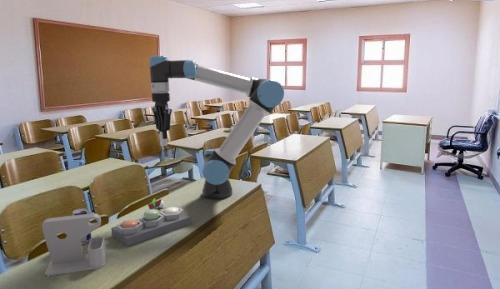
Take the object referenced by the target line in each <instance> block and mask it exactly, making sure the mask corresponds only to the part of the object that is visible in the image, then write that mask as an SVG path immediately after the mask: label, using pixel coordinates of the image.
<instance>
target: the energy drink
mask: <svg viewBox="0 0 500 289" xmlns="http://www.w3.org/2000/svg"><path fill="white" fill-rule="evenodd" d="M83 214H90V213H89V209H88V208H85V207H83V208H82V207H80V208H76V209H74V210H72V213H71V216H74V215H83ZM88 222H89V223H91V222H90V219H89V220H88ZM91 239H92V232H91V233H89V234H88V235H86V236H85V237H83V238H82V239H81V244H82V245H86V244H89V242H90V240H91Z"/></svg>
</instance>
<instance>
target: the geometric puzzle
mask: <svg viewBox="0 0 500 289" xmlns="http://www.w3.org/2000/svg"><path fill="white" fill-rule="evenodd" d="M156 199H157V198H156V197H153V199H152V200H151V201H150V203H147V207H148V208H149V210H152V209H155V210H158V211H159V213H160V212H161V211H162V210H163V209H165V208H167V207H166V203H165V201H163V199H160V198H159V199H158V200H156Z"/></svg>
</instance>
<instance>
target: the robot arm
mask: <svg viewBox="0 0 500 289" xmlns="http://www.w3.org/2000/svg"><path fill="white" fill-rule="evenodd" d="M149 73H150V74H149V75H150V88H151V92H152V93H151V101H152V102H153V103H154V107H152V108H151V110H152V113H153V114H152V115H153V118H154V123H155V129H156V130H157V131H158V132H159V142H160V147H166V146H169V145H168V131H171V118H172V112H173V109H172V108H170V107H169V104H168V102H170V100H171V97H170V95H171V94H170V93H169V91H170V82H169V81H170V79H188V80H191V81H195V82H199V83H202V84H203V83H204V84H207V85H210V86H215V87H218V88H221V89H226V90H228V91H232V92H236V93H241V94H244V95H245V96H246V97H247V98H249V99H248V102H249V105H248V106H247V107H246V109H245V110H244V112H243V113H242V115H241V116H240V118H239V120H238V121H237V122H236V124H235V125H234V126H233V128H232V130H231V131H230V132H229V134H228V135H227V136H226V138H225V140H224V141H223V142H222V144H221V145H220V147H217V148H211V149H205V150H204V152H203V157H204V158H203V159H204V161H203V167H202V175H203V178H204V183H203V187H202V190H201V194H202V197H204V198H206V199H212V200H219V199H220V200H221V199H226V198H229V197H231V196H232V195H233V187H232V184H231V182H230V179H229V177H230V173H231V171H232V170H233V168H234V167H235V165H236V164H237V162H236V158H237V157H238V155H239V154H240V152H241V151H242V150H243V148H244V147H245V145H246V144H247V143H248V141H249V140H250V139H251V137H252V136H253V134H254V132H256V130H257V128H258V126H260V124H261V123H262V121H263V120H264V118H265V117H266V116H268V115H271V114H272V113H273V111H274V110H275V109H276V107H277V106H279V105H280V104H281V103H282V102H283V99H284V97H285V90H284V88H283V85H282V84H281V83H280V82H279V81H278V80H275V79H274V78H273V79H272V78H257V77H254V76H252V77H250V78H249V77H245V76H241V75H238V74H234V73H231V72H226V71H223V70H219V69H216V68H213V67H208V66H204V65H201V64H197V63H196V61H195V60H189V59H183V60H182V59H180V60H169V59H168V57H167V55H152V56H150V57H149Z"/></svg>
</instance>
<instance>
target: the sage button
mask: <svg viewBox="0 0 500 289" xmlns="http://www.w3.org/2000/svg"><path fill="white" fill-rule="evenodd" d="M143 216H144V219H145V220H147V221H152V220H156V219H158V218H159V211H158V210H155V209H152V210H150V209H148V210H144V212H143Z"/></svg>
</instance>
